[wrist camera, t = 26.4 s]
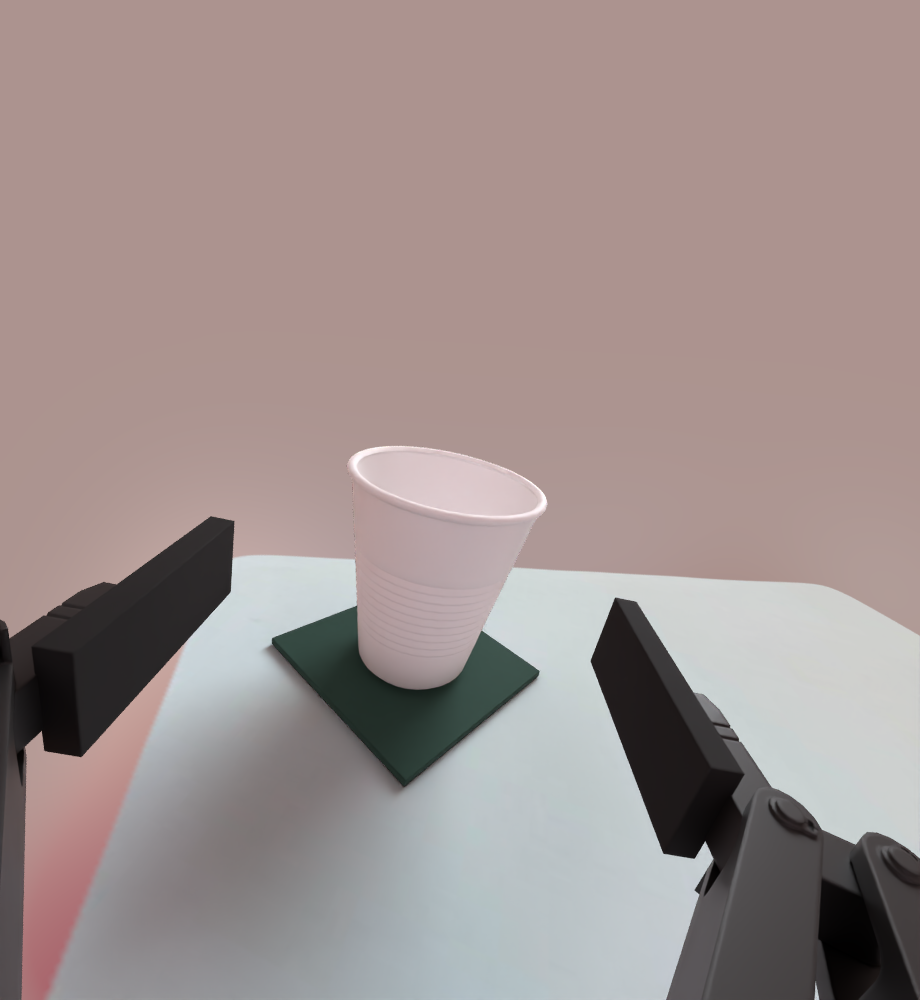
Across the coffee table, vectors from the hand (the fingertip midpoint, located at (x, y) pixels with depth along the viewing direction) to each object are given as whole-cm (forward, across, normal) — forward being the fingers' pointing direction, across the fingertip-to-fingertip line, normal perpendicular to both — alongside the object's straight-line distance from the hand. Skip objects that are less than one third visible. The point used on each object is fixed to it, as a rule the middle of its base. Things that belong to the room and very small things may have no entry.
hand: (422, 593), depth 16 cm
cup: (+8, 0, -9) cm, 12 cm away
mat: (+8, 0, -10) cm, 13 cm away
